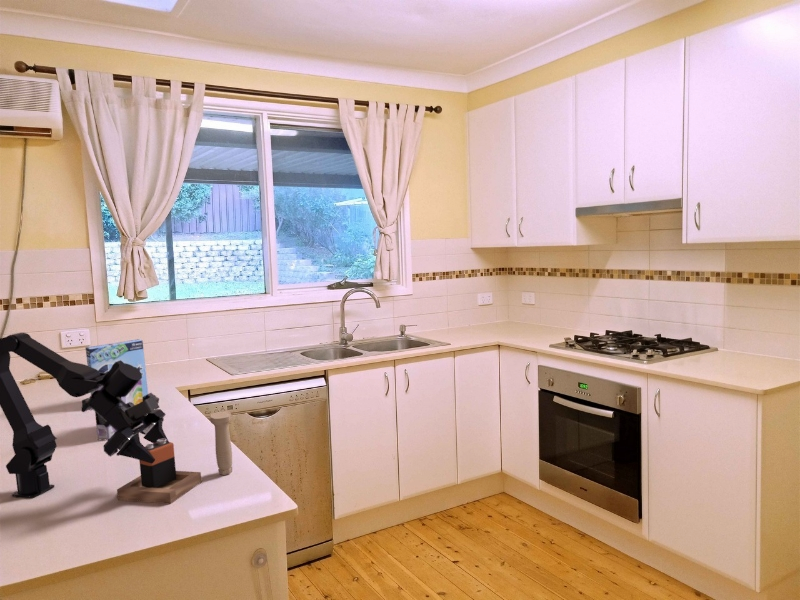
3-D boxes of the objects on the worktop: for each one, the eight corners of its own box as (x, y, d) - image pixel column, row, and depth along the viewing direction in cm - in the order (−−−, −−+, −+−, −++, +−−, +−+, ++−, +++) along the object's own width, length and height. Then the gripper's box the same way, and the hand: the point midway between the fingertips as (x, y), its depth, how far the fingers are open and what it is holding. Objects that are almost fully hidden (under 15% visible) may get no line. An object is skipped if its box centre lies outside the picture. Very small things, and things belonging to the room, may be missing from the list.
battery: (177, 479, 144) (174, 438, 143) (152, 490, 138) (149, 447, 137) (165, 476, 146) (162, 436, 145) (140, 486, 140) (137, 445, 139)
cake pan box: (108, 441, 182) (102, 384, 180) (93, 441, 183) (87, 384, 181) (147, 422, 201) (141, 370, 199) (133, 421, 202) (128, 370, 200)
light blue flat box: (144, 396, 237) (138, 338, 234) (149, 398, 233) (143, 340, 231) (91, 407, 223) (84, 347, 221) (95, 410, 220) (89, 348, 217)
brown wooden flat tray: (118, 499, 138) (116, 489, 138) (152, 479, 150) (151, 469, 149) (170, 503, 134) (169, 492, 134) (201, 482, 146) (200, 472, 146)
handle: (233, 467, 155) (228, 410, 153) (237, 475, 149) (232, 416, 147) (214, 470, 153) (209, 413, 151) (217, 479, 147) (211, 419, 146)
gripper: (111, 396, 131) (164, 445, 131) (154, 376, 149) (200, 419, 149) (81, 432, 132) (133, 480, 132) (127, 408, 151) (173, 450, 151)
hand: (162, 455), depth 141 cm, fingers closed on battery, 7 cm apart
